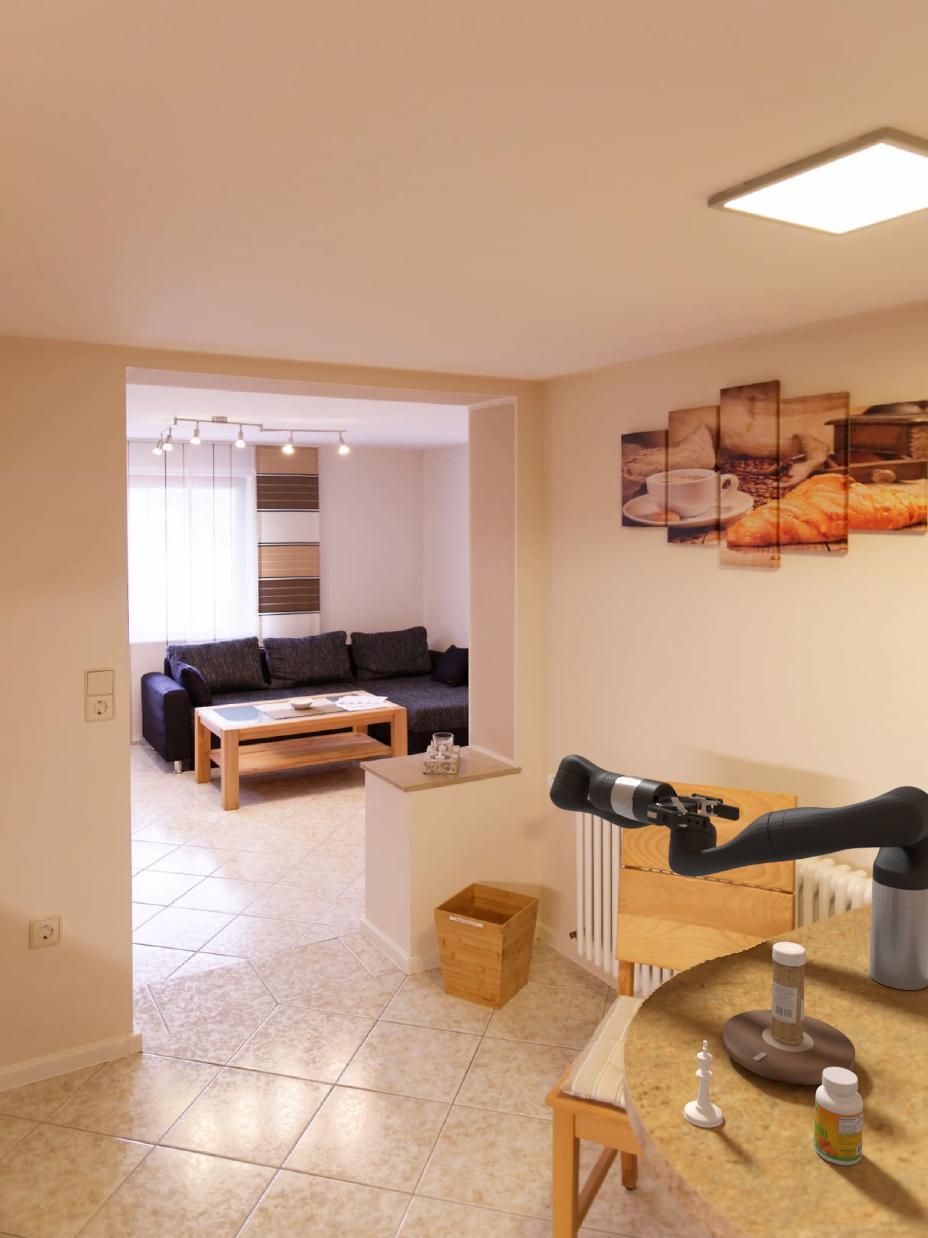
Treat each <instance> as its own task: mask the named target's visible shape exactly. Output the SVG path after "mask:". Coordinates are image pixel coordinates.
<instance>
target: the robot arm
mask: <svg viewBox="0 0 928 1238" xmlns="http://www.w3.org/2000/svg"><path fill="white" fill-rule="evenodd" d="M549 798H550V800H551V802H552V804H553V805H554V806H556V808H558V809H561V810H564V811H568V812H578V813H585V814H590V815H593V816H595V817H598V818H601V819H602V820H605V821H607V822H608V823H611V824H612V825H615V826H617V827H619V828H621V829H627V830H628V829H629V830H636V829H637V830H638V829H642V828H646V827H649V826H656V827H664V826H665V827H666V828H668V829H669V830H670V833H669V843H668V844H669V845H668V856H667V857H668V859H667V860H668V866H669V868H670V870H671V871H672V872H673V873H675V874H677V875H679V876H683V877H694V878H695V877H703V876H709V875H715V874H718V873H723V872H727V871H731V870H734V869H739V868H743V867H750V866H755V865H756V866H757V865H762V864H771V863H784V862H791V861H797V860H798V861H799V860H805V859H811V858H815V857H821V856H826V855H830V854H835V853H838V852H842V851H846V850H853V849H872V848H873V849H875V848H878V852H877V855H876V857H875V859H874V861H873V865H872V880H871V881H872V882H871V883H872V884H871V909H870V910H871V912H870V915H871V916H870V936H869V937H870V938H869V939H870V943H869V966H868V967H869V968H868V969H869V970H868V972H869V973H868V974H869V977H870V978H871V979H872V980H873V981H875V982H877V983H879V984H880V985H884V986H886V987H889V988H893V989H897V990H902V991H903V990H905V991H917V990H918V991H919V990H923V989H925V988H926V987H927V986H928V793H927V792H926V791H925V790H923V789H921V788H919V787H915V786H912V785H911V786H910V785H903V786H897V787H896V788H893V789H891V790H889V791H887V792H884V793H882V794H881V795H879V796H876V797H873V798H870V799H867V800H864V801H859V802H855V803H853V804H849V805H844V806H839V807H821V806H819V807H818V806H800V807H791V808H786V809H785V808H784V809H779V810H773V811H769V812H767V813H764V814H762V815H760V816H759V817H757V818H755V819H754V820H753V821H752V822H750V823H749V824H748V825H747V826H746V827H745V828H744V829H743V830H742V831H740V832H739V833H738V834H737V835H736V836H734V837H733V838H732V839H731V840H728V841H727V842H725V843H723V844H720V845H717V841H718V840H717V839H718V834H717V833H718V832H717V828H716V826H715V825H714V824H713V823H712V822H711V818H710V817H715V818H721V819H725V820H730V821H732V822H733V821H735V822H737V821H739V820H740V813H741V812H740V808H739V807H738V806H734V805H729V804H724V799H723V798H720V797H719V798H718V797H715V796H709V795H703V794H699V793H696V792H694V793H691V796H690V795H688V794H679V795H678V793H676V790H675V788H674V787H673V785H672V784H670V783H668V782H665V781H659V780H654V779H651V778H647V777H646V778H645V777H641V776H635V775H625V774H622V773H618V772H612V771H609V770H606V769H604V768H602V767H600V766H597V765H596V763H593V762H592V761H590V760H589V759H587V758H585V757H584V756H582V755H579V754H574V753H573V754H568V755H566V756H564V757H563V758H562V759H561V761H560V762H559V765H558V768H557V772H556V774H555V776H554V779H553V781H552V784H551V787H550V790H549ZM699 811H700V813H699Z"/></svg>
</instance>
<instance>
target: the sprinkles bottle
mask: <svg viewBox="0 0 928 1238" xmlns="http://www.w3.org/2000/svg"><path fill="white" fill-rule="evenodd" d="M806 950H807V949H806V948H805V947H803V946H802V945H800V944H798V943H795V942H788V941H780V942H776V943H774V944H773V946H772V956H771V957H772V961H773V962H772V963H773V965H772V966H773V967H772V968H773V969H772V971H773V972H772V987H771V989H772V993H771V997H772V998H771V1010H772V1030H771V1036H772V1037H773V1038H774V1039H775V1040H776V1041H778V1042H780V1043H783V1044H787V1045H797V1044H800V1043H802V1041H803V1040H804V1036H803V1019H804V1015H805V966H806V963H807V951H806Z"/></svg>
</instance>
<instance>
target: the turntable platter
mask: <svg viewBox="0 0 928 1238" xmlns="http://www.w3.org/2000/svg"><path fill="white" fill-rule="evenodd" d="M771 1030H772V1009H758V1010H757V1009H755V1010H749V1011H748V1010H747V1011H744V1012H740V1013H737V1014H736V1015H733V1016H731V1017H730V1018H728V1019H727V1021H725V1023H724V1025H723V1027H722V1045H723V1048H724V1050H725V1052H726V1053H727V1054H728V1056H730V1057H731V1059H732V1060H733V1061H735V1062H736V1063H737V1064H739V1065H740V1066H742V1067H743V1068H745V1069H747V1070H749V1071H750V1072H752V1073H755V1074H756V1075H757V1074H758V1075H760V1076H761V1077H764V1076H765V1077H764V1078H767V1077H768V1078H767V1079H769V1078H771V1079H770V1080H772V1079H775V1080H779V1081H783V1082H788V1083H795V1084H806V1085H805V1086H811V1085H823V1084H822V1075H823V1070H824V1069H826V1068H828V1067H840V1068H844V1069H847V1070H849V1071H851V1072H853V1071H854V1069H855V1066H856V1048H855V1046H854V1044H853V1042H852V1041H851V1040H850V1038H849V1037H848V1036H847V1035H846V1034H845V1033H843V1032H842V1031H841V1030H840V1029H837V1028H836V1027H835V1026H833V1025H831V1024H829V1023H827V1022H825V1021H822V1020H820V1019H818V1018H814V1017H812V1016H809V1015H805V1014H804V1019H803V1036H804V1040H803V1041H802V1043H800V1044H797V1045H787V1044H783V1043H780V1042H778V1041H776V1040H775V1039H774V1038H773V1037H772V1036H771ZM775 1080H774V1081H775ZM779 1081H778V1082H779ZM783 1082H782V1083H783Z"/></svg>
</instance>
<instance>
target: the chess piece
mask: <svg viewBox="0 0 928 1238" xmlns="http://www.w3.org/2000/svg"><path fill="white" fill-rule="evenodd" d="M707 1048H708V1041H707V1040H705V1039H703V1041H702V1051H701V1052H698V1053H697V1055H696V1060H697V1062H698V1066H699V1069H697V1070H696V1071H695V1072H696V1073H695V1076H696V1077H697V1078H699V1080H700V1081H699V1086H698V1092H697V1099H696V1100H692V1101H689V1102H687V1103H686V1105H684V1110H683V1116H684V1118H685V1120H686V1121H688V1122H689V1123H690V1124H692V1125H694V1126H696V1127H699V1128H706V1129H707V1128H708V1129H709V1128H710V1129H712V1128H716V1127H719V1126H720V1125H721V1124H723V1121H724V1117H723V1112H722V1110H721V1108H720V1107H719V1106H718V1105H716V1104H714V1103H712V1102H711V1098H710V1089H709V1088H710V1087H709V1080H712V1079H713V1077H714V1075H713V1072H712V1071H711V1070H710V1068H711V1065H712V1063H713V1060H714V1057H713V1055H712V1054H711V1053H709V1052H708V1049H707Z"/></svg>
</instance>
